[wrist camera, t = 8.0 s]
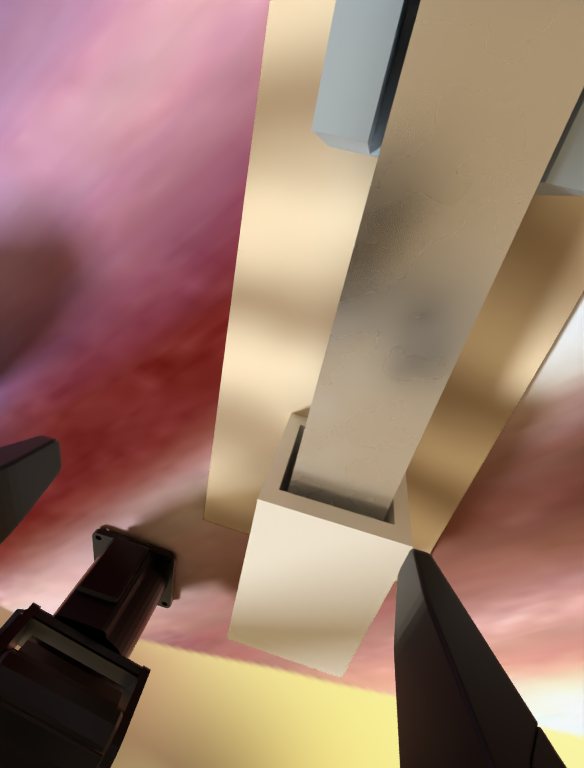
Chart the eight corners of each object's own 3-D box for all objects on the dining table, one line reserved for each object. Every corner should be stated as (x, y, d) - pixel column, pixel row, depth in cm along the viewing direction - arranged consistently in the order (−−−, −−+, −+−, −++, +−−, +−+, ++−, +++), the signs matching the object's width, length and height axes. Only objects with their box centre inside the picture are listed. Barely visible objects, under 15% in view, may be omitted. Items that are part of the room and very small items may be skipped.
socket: (543, 195, 14) (657, 197, 8) (328, 146, 14) (297, 117, 9) (640, -11, 11) (909, -219, 5) (372, -59, 12) (368, -289, 6)
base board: (410, 578, 24) (411, 585, 24) (206, 514, 26) (203, 519, 25) (774, -56, 11) (792, -67, 10) (292, -136, 12) (289, -149, 11)
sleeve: (349, 566, 24) (341, 678, 19) (260, 538, 25) (226, 638, 19) (402, 445, 20) (412, 547, 14) (291, 413, 20) (257, 499, 14)
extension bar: (374, 475, 19) (374, 538, 16) (299, 453, 20) (282, 510, 16) (551, 48, 11) (632, -18, 8) (417, 21, 11) (435, -54, 8)
